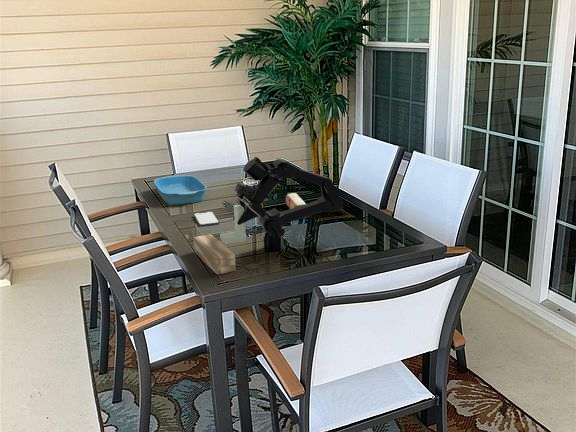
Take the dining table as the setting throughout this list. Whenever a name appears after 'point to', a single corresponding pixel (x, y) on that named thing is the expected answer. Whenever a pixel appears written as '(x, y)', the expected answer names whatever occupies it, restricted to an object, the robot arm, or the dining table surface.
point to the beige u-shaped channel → (214, 254)
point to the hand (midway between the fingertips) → (235, 221)
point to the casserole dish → (180, 189)
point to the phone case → (206, 219)
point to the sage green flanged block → (239, 229)
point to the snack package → (294, 201)
